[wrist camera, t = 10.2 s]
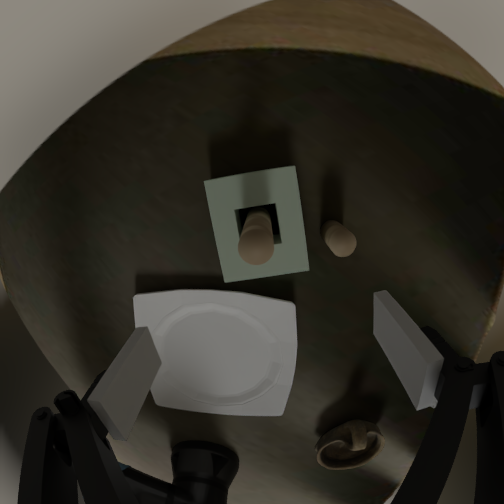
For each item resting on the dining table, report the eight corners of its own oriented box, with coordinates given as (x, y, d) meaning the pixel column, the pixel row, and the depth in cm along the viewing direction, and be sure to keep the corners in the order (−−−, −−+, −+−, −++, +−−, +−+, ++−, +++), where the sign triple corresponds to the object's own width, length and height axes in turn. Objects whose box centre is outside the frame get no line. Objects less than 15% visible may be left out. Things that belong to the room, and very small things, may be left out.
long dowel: (248, 232, 37) (241, 267, 25) (244, 209, 36) (234, 233, 24) (272, 228, 37) (276, 262, 25) (268, 205, 36) (271, 227, 24)
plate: (132, 279, 40) (124, 286, 38) (302, 287, 40) (304, 295, 37) (155, 398, 48) (151, 408, 45) (287, 409, 47) (288, 419, 44)
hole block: (228, 269, 39) (224, 282, 34) (211, 179, 35) (203, 181, 31) (304, 258, 38) (309, 270, 34) (291, 165, 35) (294, 165, 30)
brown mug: (312, 453, 51) (316, 489, 41) (315, 404, 46) (322, 447, 36) (372, 443, 50) (382, 476, 41) (386, 392, 45) (403, 430, 36)
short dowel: (321, 244, 37) (331, 258, 32) (319, 221, 36) (329, 232, 31) (343, 240, 37) (357, 254, 31) (341, 218, 36) (355, 228, 31)
